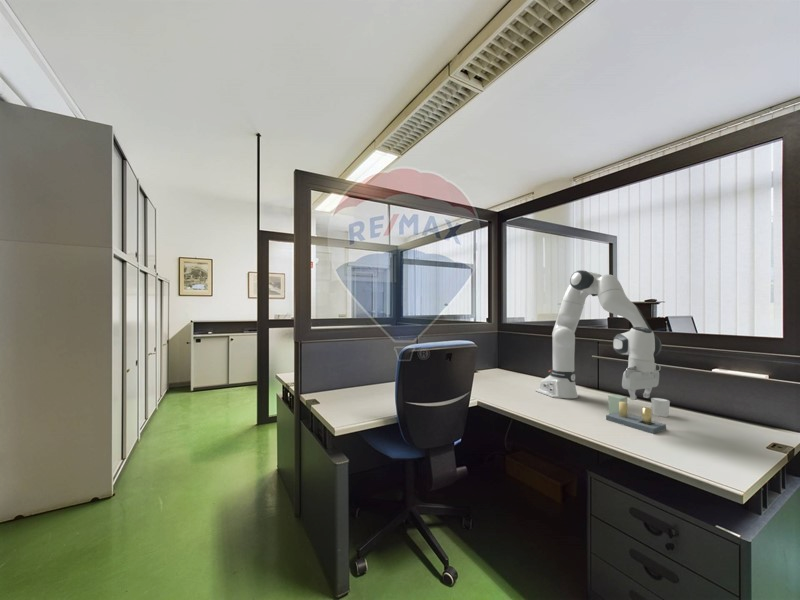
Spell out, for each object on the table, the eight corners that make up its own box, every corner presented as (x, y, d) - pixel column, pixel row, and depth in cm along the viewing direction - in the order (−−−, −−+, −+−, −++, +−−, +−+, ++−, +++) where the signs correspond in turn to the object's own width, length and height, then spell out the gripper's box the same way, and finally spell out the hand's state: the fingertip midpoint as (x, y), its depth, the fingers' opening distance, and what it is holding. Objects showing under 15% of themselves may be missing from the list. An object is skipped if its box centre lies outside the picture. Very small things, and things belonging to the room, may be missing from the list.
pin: (640, 427, 134) (640, 407, 134) (645, 426, 135) (645, 406, 135) (648, 429, 131) (648, 409, 131) (653, 428, 132) (653, 409, 133)
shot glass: (673, 417, 145) (673, 402, 145) (656, 416, 147) (656, 401, 147) (664, 412, 152) (664, 397, 152) (648, 411, 153) (647, 397, 153)
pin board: (606, 419, 143) (605, 401, 143) (618, 416, 148) (618, 398, 148) (653, 433, 127) (653, 413, 127) (665, 429, 132) (665, 409, 132)
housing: (608, 412, 152) (608, 395, 152) (615, 410, 155) (615, 394, 155) (620, 416, 147) (620, 398, 148) (627, 414, 150) (627, 397, 150)
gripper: (634, 368, 129) (633, 403, 129) (662, 366, 138) (661, 398, 138) (618, 365, 135) (616, 398, 135) (646, 363, 143) (645, 394, 143)
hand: (639, 398), depth 136 cm, fingers open, 8 cm apart
